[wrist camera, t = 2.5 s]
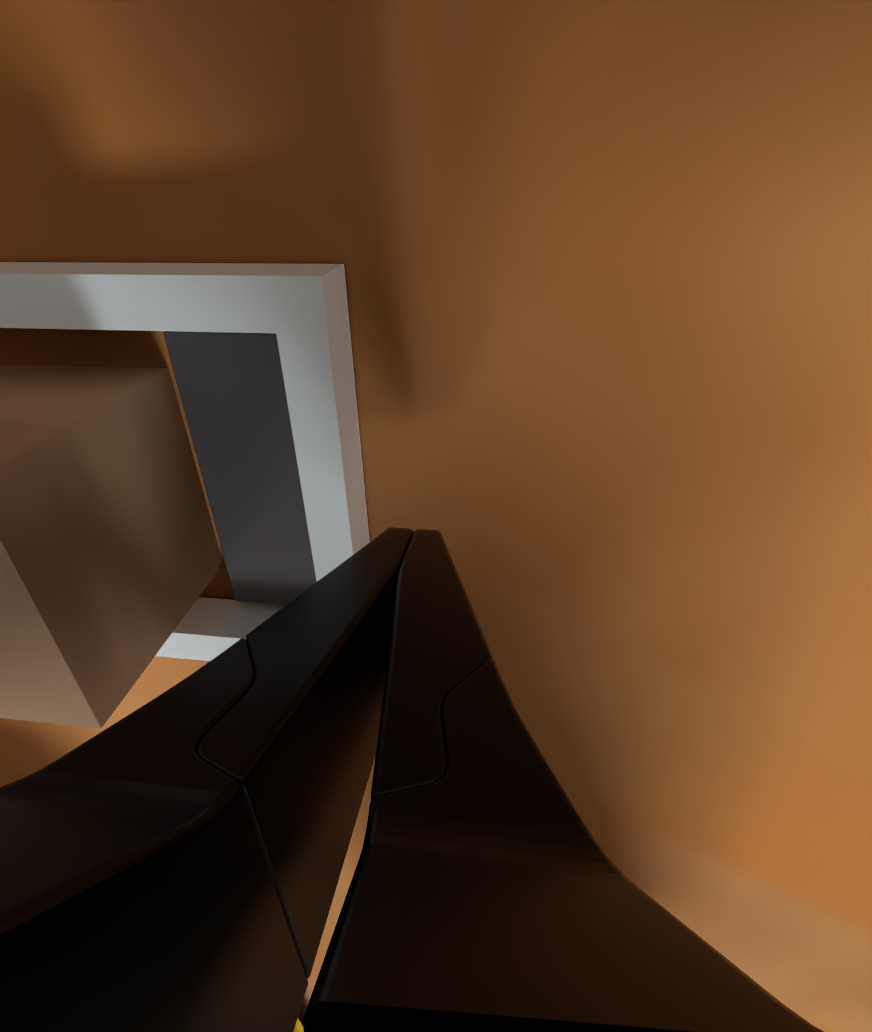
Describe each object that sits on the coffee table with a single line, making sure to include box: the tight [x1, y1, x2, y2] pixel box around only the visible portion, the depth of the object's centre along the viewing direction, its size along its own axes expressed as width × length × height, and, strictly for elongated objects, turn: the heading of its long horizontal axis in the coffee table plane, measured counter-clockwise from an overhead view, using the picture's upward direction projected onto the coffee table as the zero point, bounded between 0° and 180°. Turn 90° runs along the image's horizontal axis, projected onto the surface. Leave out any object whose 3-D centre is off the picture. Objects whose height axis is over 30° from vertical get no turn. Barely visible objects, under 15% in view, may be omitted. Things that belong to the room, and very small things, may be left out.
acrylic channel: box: [0, 262, 370, 661], centre depth 11 cm, size 8×14×1 cm, turn 91°
